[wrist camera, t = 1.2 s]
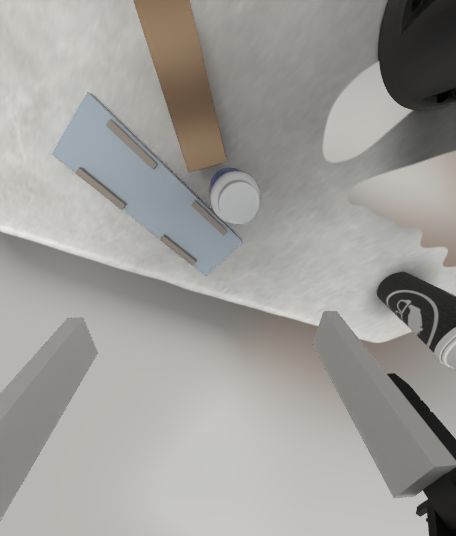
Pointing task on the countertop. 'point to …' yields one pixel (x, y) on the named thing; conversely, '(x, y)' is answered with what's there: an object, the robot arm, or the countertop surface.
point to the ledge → (143, 186)
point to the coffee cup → (424, 312)
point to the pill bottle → (234, 196)
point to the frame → (183, 79)
